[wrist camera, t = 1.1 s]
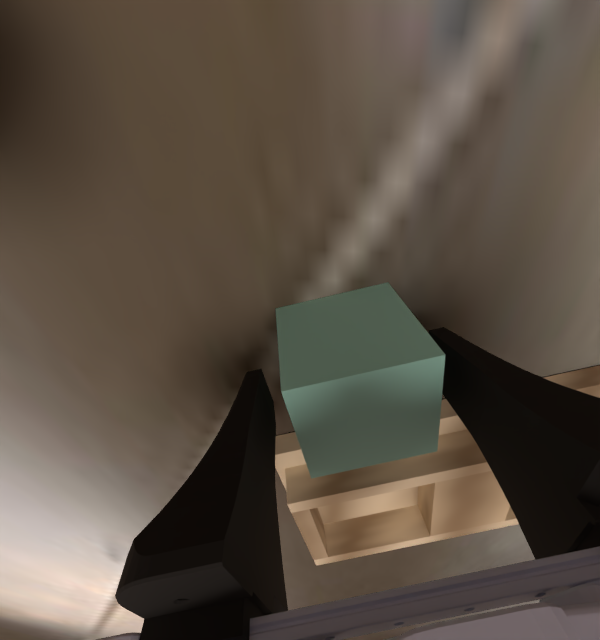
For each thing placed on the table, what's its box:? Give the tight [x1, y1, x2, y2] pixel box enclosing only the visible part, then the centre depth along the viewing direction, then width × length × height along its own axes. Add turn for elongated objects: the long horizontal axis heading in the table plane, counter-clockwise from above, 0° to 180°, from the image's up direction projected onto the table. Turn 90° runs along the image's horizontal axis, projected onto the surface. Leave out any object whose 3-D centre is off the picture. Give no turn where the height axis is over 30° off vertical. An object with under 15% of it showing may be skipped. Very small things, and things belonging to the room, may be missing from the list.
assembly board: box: [275, 365, 600, 565], centre depth 20 cm, size 22×12×3 cm, turn 102°
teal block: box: [276, 283, 445, 479], centre depth 12 cm, size 5×5×5 cm
